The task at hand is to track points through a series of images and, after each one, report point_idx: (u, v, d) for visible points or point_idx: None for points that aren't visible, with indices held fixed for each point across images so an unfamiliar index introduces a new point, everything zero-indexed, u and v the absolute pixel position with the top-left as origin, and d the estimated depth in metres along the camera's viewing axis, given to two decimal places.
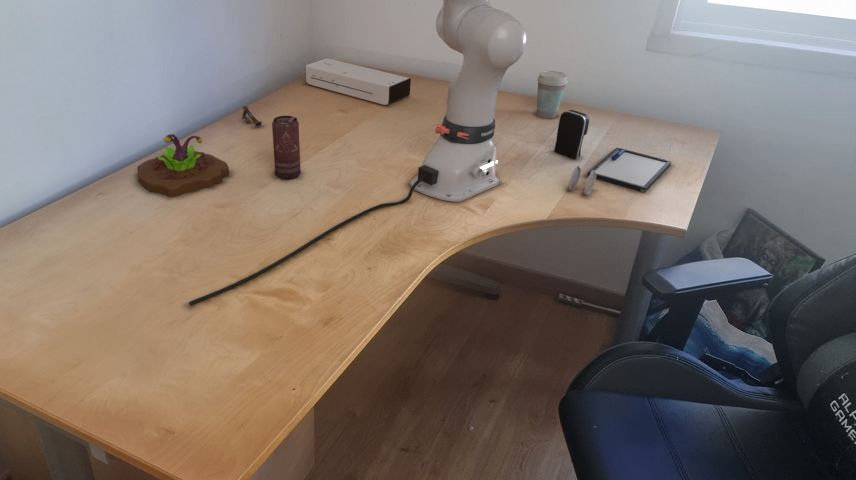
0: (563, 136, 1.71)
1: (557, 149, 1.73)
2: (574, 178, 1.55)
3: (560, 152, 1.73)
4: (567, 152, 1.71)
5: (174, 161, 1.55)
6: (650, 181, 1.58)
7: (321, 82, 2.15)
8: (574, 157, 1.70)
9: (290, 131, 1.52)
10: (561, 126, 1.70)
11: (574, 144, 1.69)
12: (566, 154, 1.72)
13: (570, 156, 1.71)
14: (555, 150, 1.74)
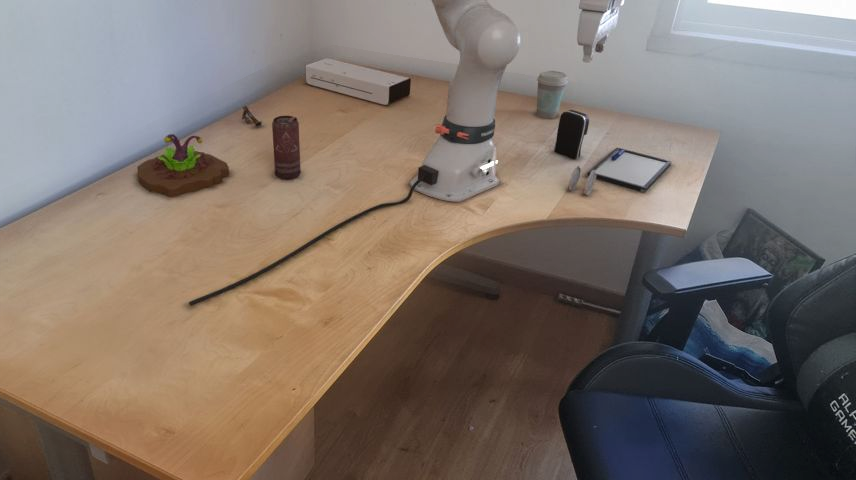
0: (563, 136, 1.71)
1: (557, 149, 1.73)
2: (574, 178, 1.55)
3: (560, 152, 1.73)
4: (567, 152, 1.71)
5: (174, 161, 1.55)
6: (650, 181, 1.58)
7: (321, 82, 2.15)
8: (574, 157, 1.70)
9: (290, 131, 1.52)
10: (561, 126, 1.70)
11: (574, 144, 1.69)
12: (566, 154, 1.72)
13: (570, 156, 1.71)
14: (555, 150, 1.74)
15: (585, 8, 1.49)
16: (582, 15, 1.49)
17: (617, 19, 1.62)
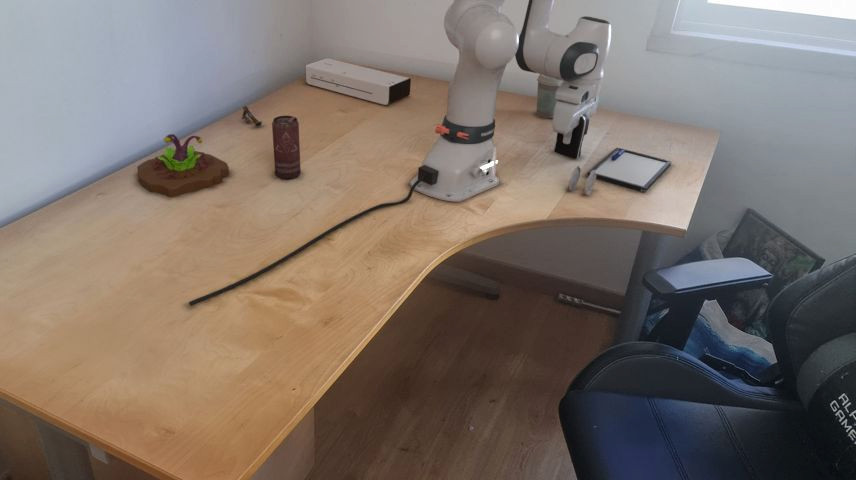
0: (563, 136, 1.71)
1: (557, 149, 1.73)
2: (574, 178, 1.55)
3: (560, 152, 1.73)
4: (567, 152, 1.71)
5: (174, 161, 1.55)
6: (650, 181, 1.58)
7: (321, 82, 2.15)
8: (574, 157, 1.71)
9: (290, 131, 1.52)
10: None
11: (574, 144, 1.69)
12: (566, 154, 1.72)
13: (570, 156, 1.71)
14: (555, 150, 1.74)
15: (560, 99, 1.59)
16: (557, 105, 1.60)
17: (596, 106, 1.73)
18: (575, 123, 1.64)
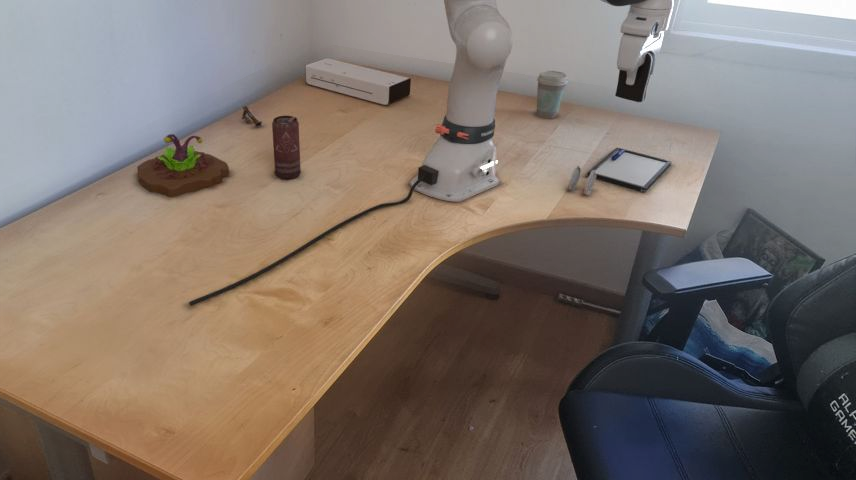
0: (626, 78, 1.55)
1: (619, 93, 1.58)
2: (574, 178, 1.55)
3: (623, 96, 1.58)
4: (631, 95, 1.56)
5: (174, 161, 1.55)
6: (650, 181, 1.58)
7: (321, 82, 2.15)
8: (639, 100, 1.55)
9: (290, 131, 1.52)
10: None
11: (639, 85, 1.54)
12: (630, 97, 1.57)
13: (635, 99, 1.56)
14: (617, 94, 1.59)
15: (627, 32, 1.44)
16: (623, 39, 1.45)
17: (661, 44, 1.57)
18: (641, 60, 1.49)
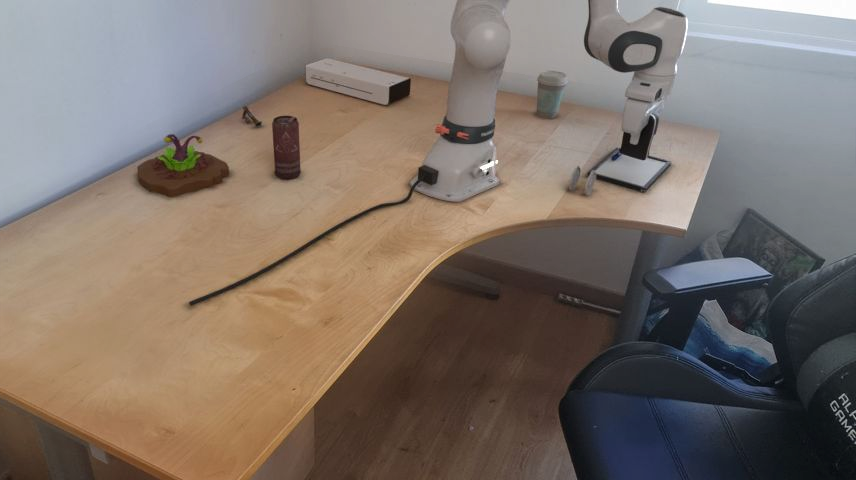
0: (630, 137, 1.61)
1: (623, 150, 1.63)
2: (574, 178, 1.55)
3: (627, 153, 1.63)
4: (635, 153, 1.61)
5: (174, 161, 1.55)
6: (650, 181, 1.58)
7: (321, 82, 2.15)
8: (643, 158, 1.61)
9: (290, 131, 1.52)
10: None
11: (643, 145, 1.59)
12: (634, 155, 1.62)
13: (638, 157, 1.61)
14: (621, 152, 1.64)
15: (631, 97, 1.49)
16: (627, 103, 1.50)
17: (664, 104, 1.62)
18: (645, 122, 1.54)
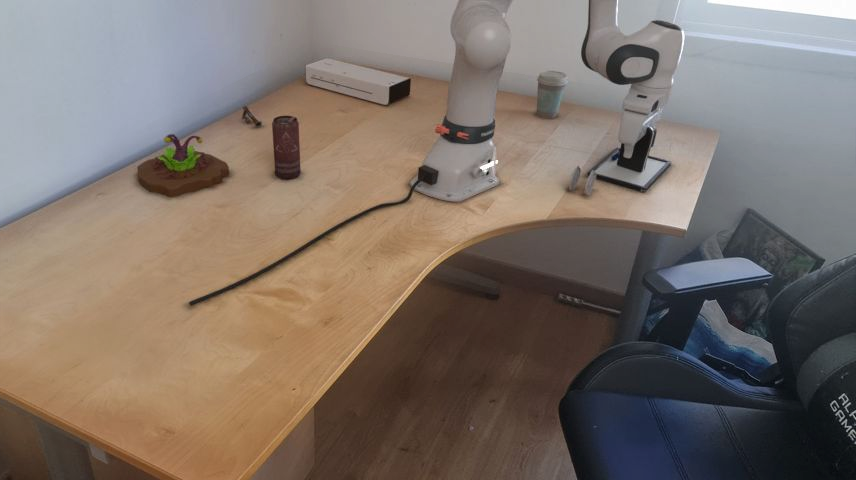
0: None
1: (620, 162, 1.65)
2: (574, 178, 1.55)
3: (624, 165, 1.65)
4: (632, 165, 1.63)
5: (174, 161, 1.55)
6: (650, 181, 1.58)
7: (321, 82, 2.15)
8: (640, 170, 1.62)
9: (290, 131, 1.52)
10: None
11: (640, 156, 1.61)
12: (631, 167, 1.64)
13: (635, 169, 1.63)
14: (618, 163, 1.66)
15: (628, 109, 1.51)
16: (624, 115, 1.51)
17: None
18: (642, 134, 1.55)
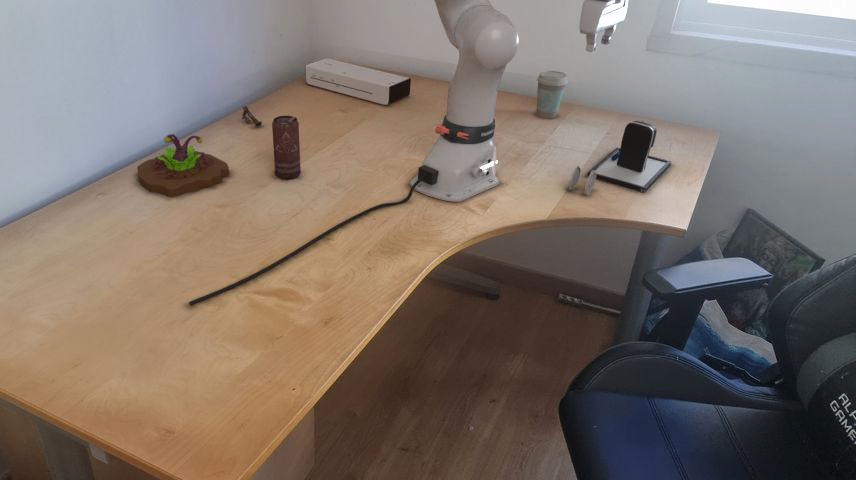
0: (627, 149, 1.62)
1: (620, 162, 1.65)
2: (574, 178, 1.55)
3: (624, 165, 1.65)
4: (632, 165, 1.63)
5: (174, 161, 1.55)
6: (650, 181, 1.58)
7: (321, 82, 2.15)
8: (640, 170, 1.62)
9: (290, 131, 1.52)
10: (626, 138, 1.62)
11: (640, 156, 1.61)
12: (631, 167, 1.64)
13: (635, 169, 1.63)
14: (618, 163, 1.66)
15: None
16: (585, 3, 1.50)
17: (626, 12, 1.63)
18: (603, 25, 1.54)
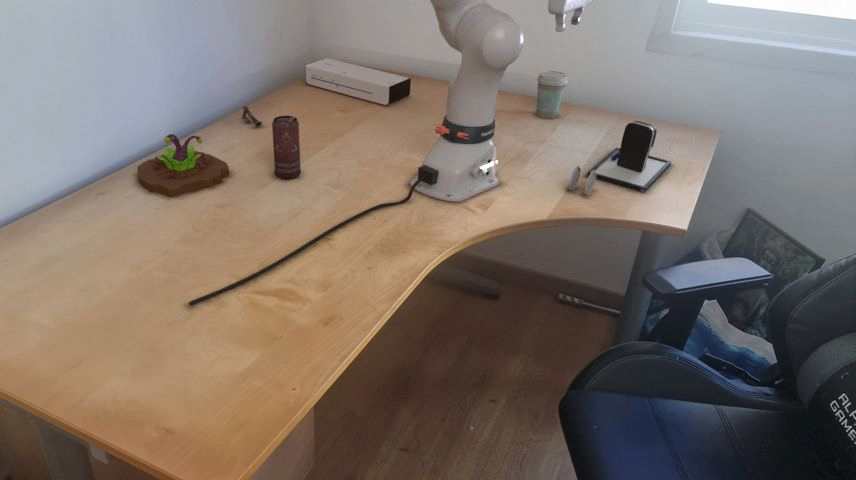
0: (627, 149, 1.62)
1: (620, 162, 1.65)
2: (574, 178, 1.55)
3: (624, 165, 1.65)
4: (632, 165, 1.63)
5: (174, 161, 1.55)
6: (650, 181, 1.58)
7: (321, 82, 2.15)
8: (640, 170, 1.62)
9: (290, 131, 1.52)
10: (626, 138, 1.62)
11: (640, 156, 1.61)
12: (631, 167, 1.64)
13: (635, 169, 1.63)
14: (618, 163, 1.66)
15: None
16: None
17: None
18: (571, 5, 1.59)
